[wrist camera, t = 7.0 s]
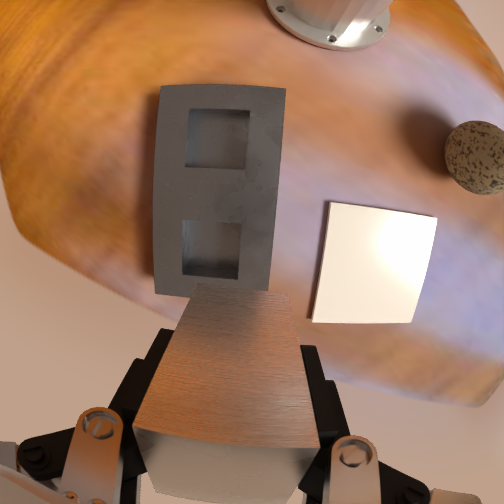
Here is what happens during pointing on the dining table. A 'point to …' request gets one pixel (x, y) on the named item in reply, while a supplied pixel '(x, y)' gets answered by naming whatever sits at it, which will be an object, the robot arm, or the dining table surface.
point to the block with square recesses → (215, 185)
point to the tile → (372, 265)
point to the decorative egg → (476, 157)
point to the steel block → (229, 402)
